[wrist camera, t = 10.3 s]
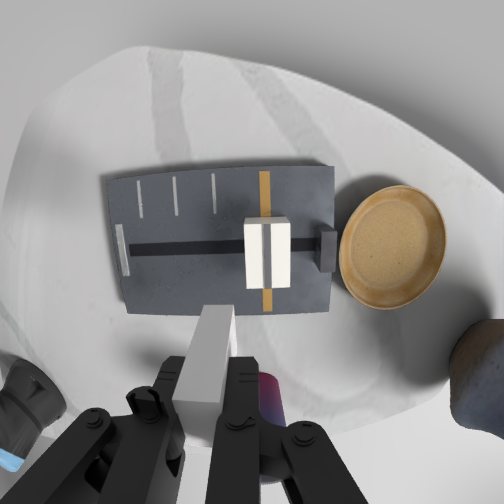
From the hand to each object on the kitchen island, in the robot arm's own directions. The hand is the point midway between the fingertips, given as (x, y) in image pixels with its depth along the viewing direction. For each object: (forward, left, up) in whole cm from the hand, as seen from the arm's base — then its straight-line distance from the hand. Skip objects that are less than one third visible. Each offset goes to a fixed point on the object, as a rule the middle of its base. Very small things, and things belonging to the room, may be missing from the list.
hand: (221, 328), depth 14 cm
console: (-2, 0, -17) cm, 17 cm away
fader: (+3, 0, -15) cm, 15 cm away
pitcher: (+40, -19, -18) cm, 47 cm away
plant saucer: (+18, -1, -18) cm, 25 cm away
